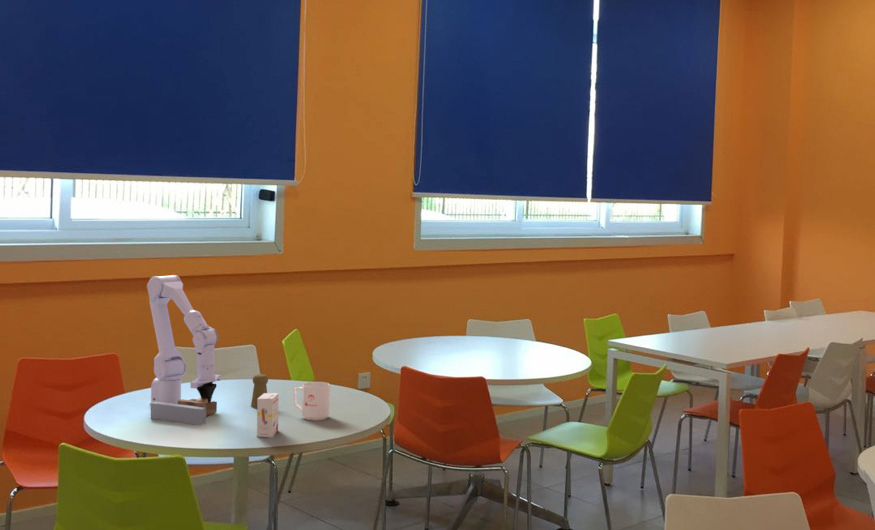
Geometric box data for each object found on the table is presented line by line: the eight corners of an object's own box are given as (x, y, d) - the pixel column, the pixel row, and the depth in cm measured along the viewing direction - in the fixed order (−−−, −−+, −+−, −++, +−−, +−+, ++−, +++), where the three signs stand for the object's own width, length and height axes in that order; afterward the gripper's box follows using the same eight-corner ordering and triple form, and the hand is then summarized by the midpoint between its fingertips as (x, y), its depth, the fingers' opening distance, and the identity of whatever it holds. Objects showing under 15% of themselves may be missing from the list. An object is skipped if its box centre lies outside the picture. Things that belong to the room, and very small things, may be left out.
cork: (264, 408, 305) (265, 376, 304) (248, 407, 306) (248, 375, 305) (271, 405, 311) (272, 373, 310) (255, 403, 312) (255, 372, 311)
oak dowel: (194, 414, 296) (192, 401, 295) (202, 408, 300) (200, 396, 298) (204, 416, 294) (202, 403, 293) (212, 410, 298) (210, 398, 296)
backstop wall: (150, 418, 287) (150, 402, 287) (155, 416, 289) (155, 401, 289) (201, 425, 281) (201, 409, 280) (205, 423, 283) (205, 407, 282)
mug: (332, 415, 298) (333, 382, 297) (324, 422, 289) (325, 388, 288) (298, 413, 300) (298, 380, 299) (289, 419, 291) (289, 385, 291)
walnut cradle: (177, 414, 292) (177, 400, 292) (192, 409, 300) (192, 395, 300) (202, 417, 289) (202, 403, 289) (216, 412, 297) (216, 398, 296)
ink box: (262, 429, 277) (263, 392, 276) (278, 430, 277) (279, 392, 276) (256, 437, 269) (256, 398, 268) (272, 437, 269) (273, 398, 268)
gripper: (203, 369, 289) (203, 411, 290) (228, 362, 302) (228, 402, 303) (184, 368, 291) (185, 409, 292) (210, 361, 305) (211, 400, 306)
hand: (206, 405), depth 298 cm, fingers closed, pressing on oak dowel
